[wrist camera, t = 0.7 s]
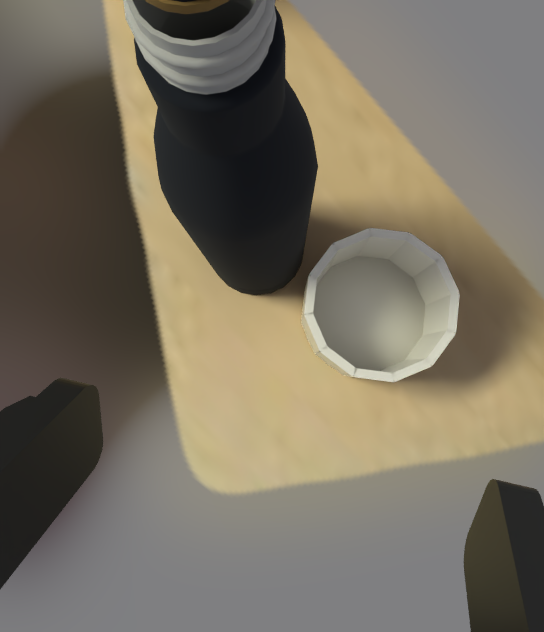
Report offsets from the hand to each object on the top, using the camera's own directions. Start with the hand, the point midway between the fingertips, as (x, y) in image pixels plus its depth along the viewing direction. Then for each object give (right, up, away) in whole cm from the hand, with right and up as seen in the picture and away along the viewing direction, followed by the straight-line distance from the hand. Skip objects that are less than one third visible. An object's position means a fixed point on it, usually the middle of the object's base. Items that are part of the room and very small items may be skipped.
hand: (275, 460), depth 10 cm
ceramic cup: (+6, +3, +24) cm, 25 cm away
